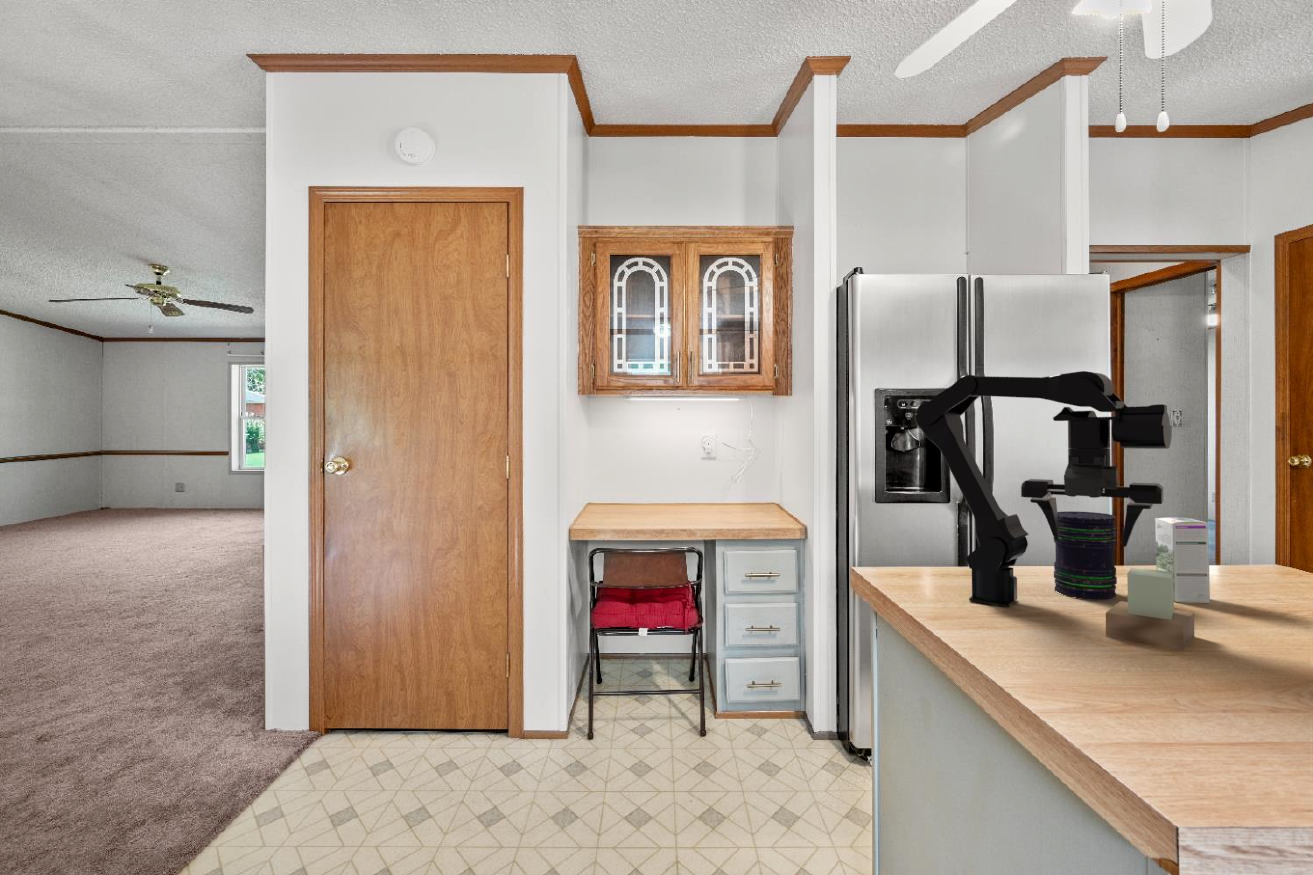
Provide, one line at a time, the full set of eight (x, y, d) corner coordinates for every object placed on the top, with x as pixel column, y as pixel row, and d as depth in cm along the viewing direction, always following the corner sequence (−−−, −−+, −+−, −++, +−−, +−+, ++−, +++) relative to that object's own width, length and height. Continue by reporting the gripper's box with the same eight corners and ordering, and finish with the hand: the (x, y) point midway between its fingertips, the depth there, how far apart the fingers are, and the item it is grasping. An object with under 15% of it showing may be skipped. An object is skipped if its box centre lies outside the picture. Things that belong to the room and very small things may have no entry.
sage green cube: (1128, 613, 93) (1127, 573, 93) (1132, 606, 97) (1131, 567, 97) (1171, 619, 90) (1170, 578, 90) (1173, 611, 93) (1173, 572, 93)
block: (1105, 639, 94) (1105, 612, 94) (1120, 625, 100) (1120, 600, 100) (1183, 654, 87) (1183, 625, 87) (1194, 639, 93) (1194, 612, 93)
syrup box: (1211, 603, 110) (1211, 521, 109) (1173, 602, 111) (1172, 521, 111) (1191, 595, 115) (1190, 517, 115) (1154, 594, 116) (1153, 516, 116)
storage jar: (1130, 600, 113) (1129, 518, 113) (1075, 600, 113) (1074, 518, 113) (1092, 586, 123) (1091, 510, 123) (1042, 587, 123) (1041, 511, 123)
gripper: (1013, 449, 102) (1014, 544, 102) (1159, 450, 90) (1160, 558, 90) (1027, 447, 110) (1028, 535, 111) (1163, 448, 98) (1164, 546, 98)
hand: (1089, 543), depth 102 cm, fingers open, 9 cm apart
